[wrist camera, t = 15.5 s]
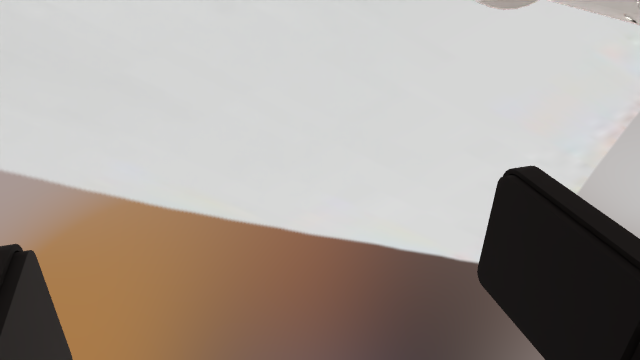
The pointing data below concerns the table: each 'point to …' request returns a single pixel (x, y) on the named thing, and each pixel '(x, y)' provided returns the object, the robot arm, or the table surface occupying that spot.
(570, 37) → the table surface
